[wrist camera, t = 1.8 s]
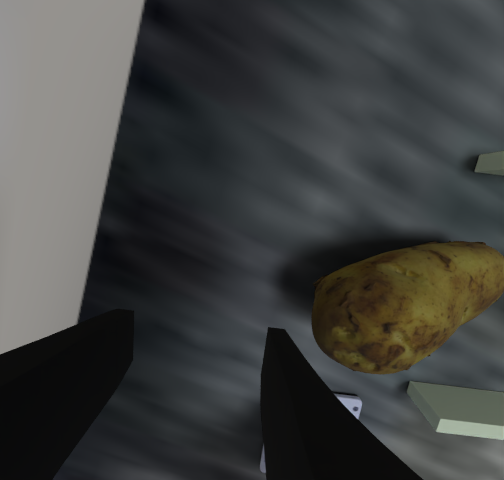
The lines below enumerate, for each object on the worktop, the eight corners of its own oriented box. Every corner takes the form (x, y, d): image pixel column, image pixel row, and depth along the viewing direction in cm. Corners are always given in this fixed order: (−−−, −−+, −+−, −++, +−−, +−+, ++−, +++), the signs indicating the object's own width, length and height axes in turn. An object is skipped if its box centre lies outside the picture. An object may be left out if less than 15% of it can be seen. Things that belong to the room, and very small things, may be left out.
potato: (442, 333, 20) (566, 426, 12) (291, 316, 20) (315, 399, 12) (472, 237, 18) (638, 271, 10) (306, 219, 18) (345, 240, 10)
